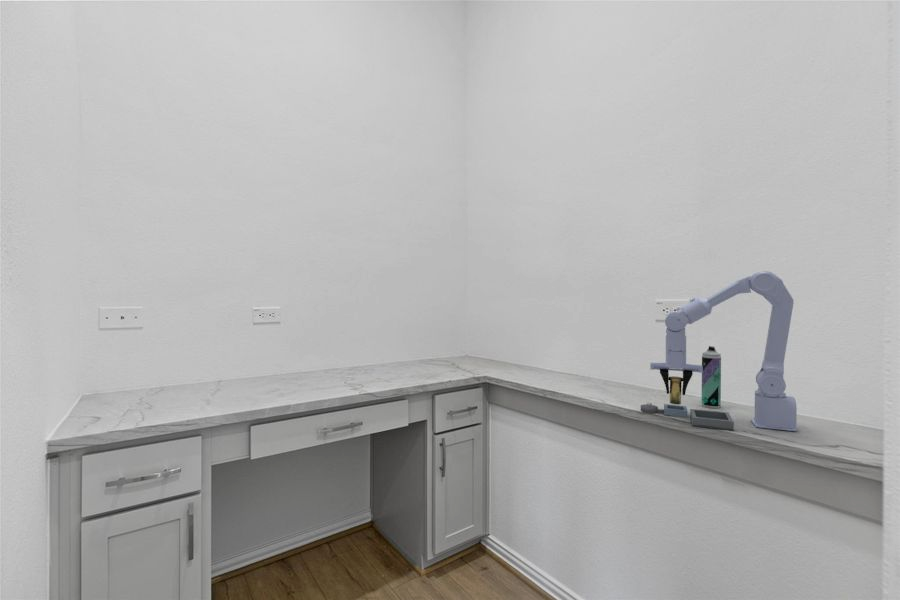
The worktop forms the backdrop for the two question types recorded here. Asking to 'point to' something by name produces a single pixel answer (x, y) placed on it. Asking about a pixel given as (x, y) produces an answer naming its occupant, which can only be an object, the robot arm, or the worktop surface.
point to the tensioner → (666, 409)
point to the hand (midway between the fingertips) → (675, 393)
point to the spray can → (711, 379)
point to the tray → (711, 419)
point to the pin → (675, 390)
